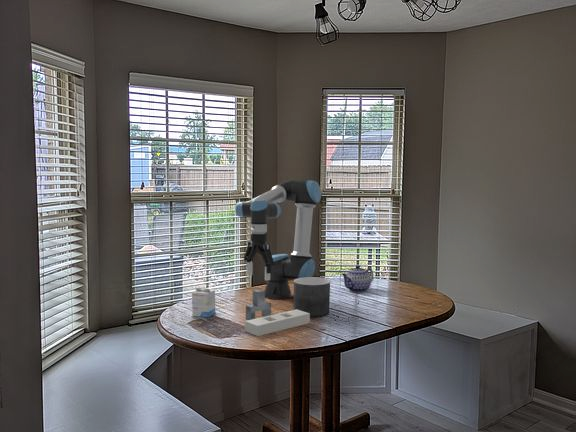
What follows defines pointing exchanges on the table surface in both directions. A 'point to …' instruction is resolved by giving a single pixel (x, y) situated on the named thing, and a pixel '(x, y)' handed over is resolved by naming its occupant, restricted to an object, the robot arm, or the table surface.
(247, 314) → the clip
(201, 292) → the ink box
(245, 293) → the table surface
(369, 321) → the table surface
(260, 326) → the rail
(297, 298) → the dark gray cylinder
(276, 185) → the robot arm
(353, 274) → the teapot
